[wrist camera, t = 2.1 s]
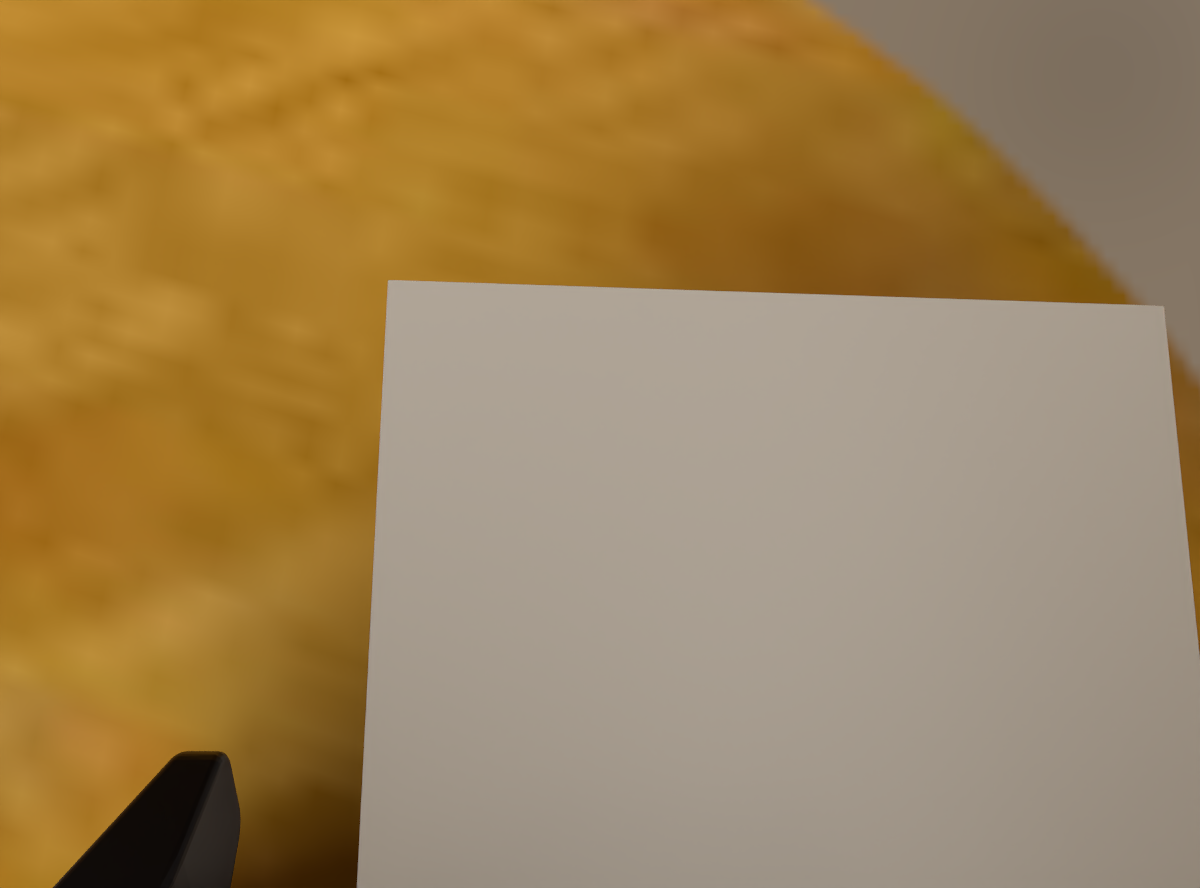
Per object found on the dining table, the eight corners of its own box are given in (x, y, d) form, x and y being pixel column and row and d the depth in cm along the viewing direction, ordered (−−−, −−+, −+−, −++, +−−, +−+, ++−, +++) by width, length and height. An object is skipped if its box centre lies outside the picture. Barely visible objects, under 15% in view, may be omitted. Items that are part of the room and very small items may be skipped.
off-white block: (877, 864, 14) (1241, 1072, 7) (438, 867, 13) (346, 1086, 6) (861, 474, 15) (1163, 305, 8) (453, 465, 14) (387, 279, 7)
